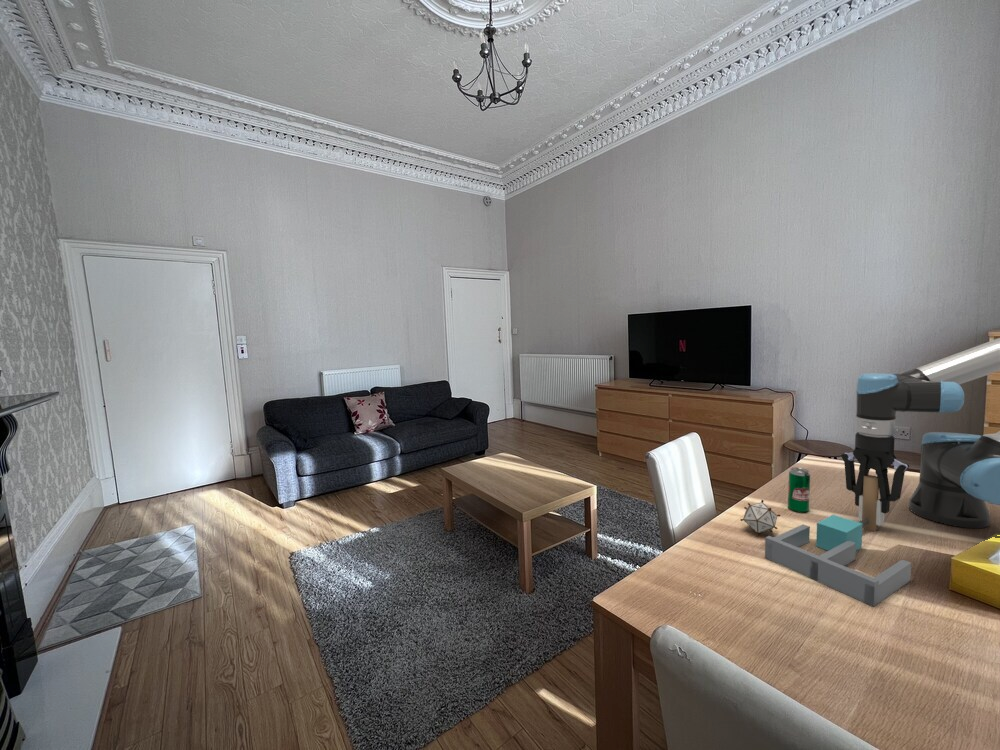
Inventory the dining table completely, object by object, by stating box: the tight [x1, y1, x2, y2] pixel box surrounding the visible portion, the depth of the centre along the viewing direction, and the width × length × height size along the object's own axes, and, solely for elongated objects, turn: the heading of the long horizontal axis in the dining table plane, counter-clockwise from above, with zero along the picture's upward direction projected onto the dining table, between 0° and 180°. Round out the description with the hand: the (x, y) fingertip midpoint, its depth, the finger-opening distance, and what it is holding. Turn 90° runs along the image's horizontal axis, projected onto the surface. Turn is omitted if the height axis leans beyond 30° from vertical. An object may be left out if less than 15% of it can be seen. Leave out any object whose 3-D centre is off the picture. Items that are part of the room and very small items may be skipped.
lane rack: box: [764, 524, 912, 608], centre depth 93 cm, size 16×20×5 cm
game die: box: [739, 499, 781, 537], centre depth 110 cm, size 9×8×10 cm
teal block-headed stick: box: [815, 474, 880, 552], centre depth 104 cm, size 22×6×14 cm, turn 119°
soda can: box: [787, 467, 811, 513], centre depth 121 cm, size 5×5×12 cm
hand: (871, 520), depth 110 cm, fingers closed on teal block-headed stick, 3 cm apart
